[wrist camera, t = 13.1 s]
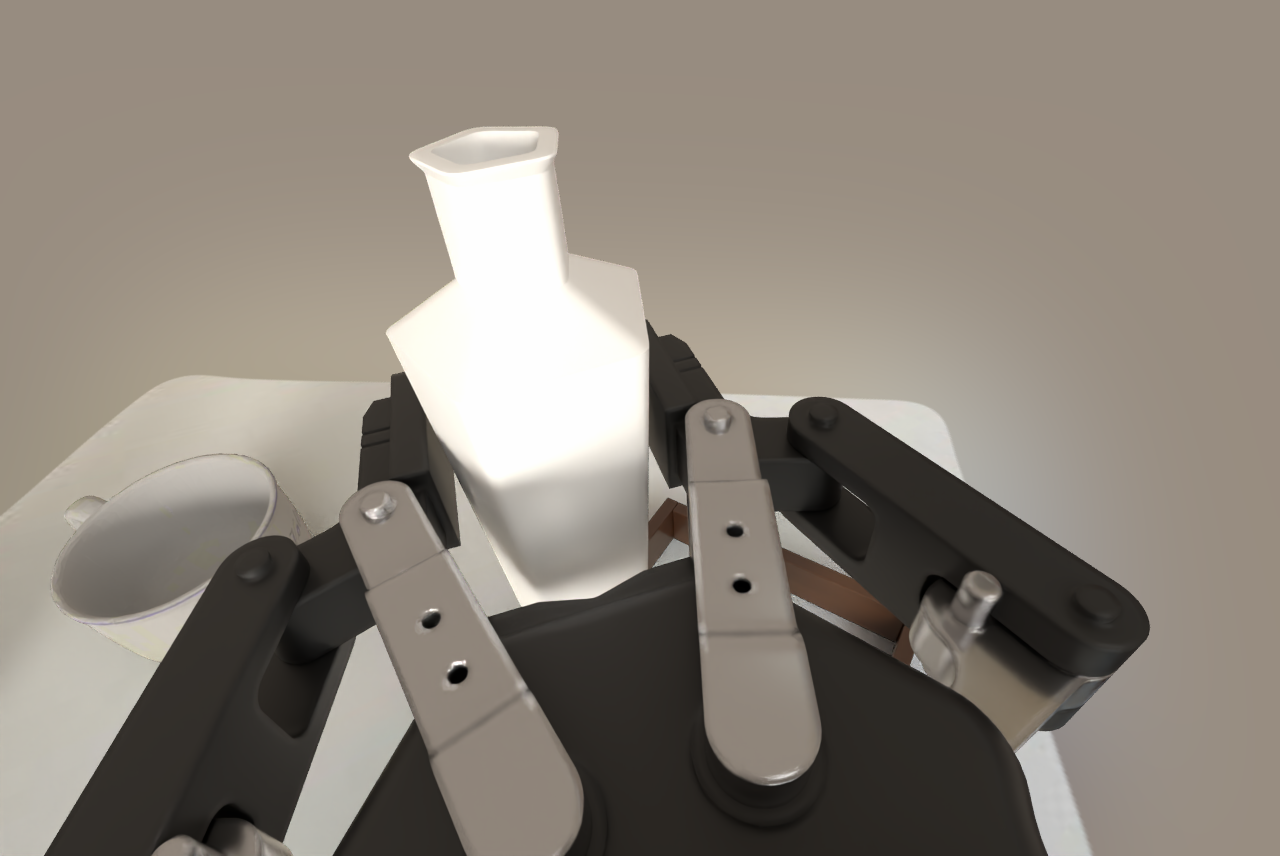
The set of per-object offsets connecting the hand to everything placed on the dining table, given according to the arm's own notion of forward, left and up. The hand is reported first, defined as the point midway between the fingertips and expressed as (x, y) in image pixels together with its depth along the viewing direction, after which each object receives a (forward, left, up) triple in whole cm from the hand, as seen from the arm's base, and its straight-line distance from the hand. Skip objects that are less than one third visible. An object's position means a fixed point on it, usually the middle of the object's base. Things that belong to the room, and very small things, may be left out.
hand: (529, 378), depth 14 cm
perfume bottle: (+2, -2, -9) cm, 10 cm away
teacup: (-26, -6, -23) cm, 35 cm away
